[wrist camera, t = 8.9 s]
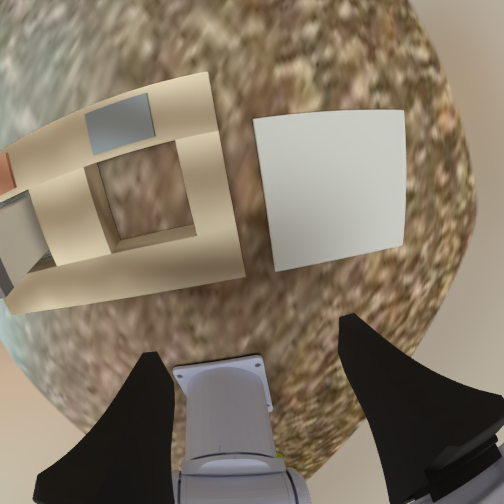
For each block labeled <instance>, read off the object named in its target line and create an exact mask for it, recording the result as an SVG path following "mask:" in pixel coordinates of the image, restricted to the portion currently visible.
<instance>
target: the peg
mask: <svg viewBox="0 0 504 504" xmlns="http://www.w3.org/2000/svg"><path fill="white" fill-rule="evenodd" d="M48 250H49V246H48V244H47V242H46V239H45V236H44V234H43V231H42V229H41V226H40V223H39V220H38V218H37V215H36V212H35V209H34V206H33V203H32V200H31V197H30V194H29V195H27V196H25V197H22V198H20V199H18V200H15V201H13V202H11V203H8V204H6V205H4V206H3V207H1V208H0V298H6V297H7V296H8V295H9V293H10V292H11V291H12V290H13V289H14V287H15V286H16V285H17V284H18V283H19V282H20V280H21V279H22V278H23V277H24V276H25V275H26V274H27V273H28V271H29V270H30V269H31V268H32V267H33V266H34V265H35V264H36V263H37V262H38V261H39V260H40V259H41V257H42V256H43V255H44V254H45V253H46V252H47V251H48Z"/></svg>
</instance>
